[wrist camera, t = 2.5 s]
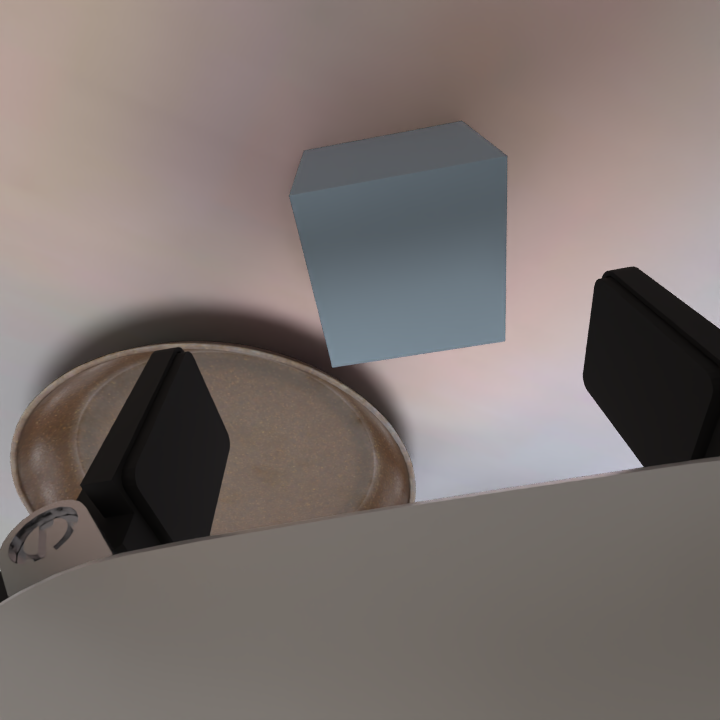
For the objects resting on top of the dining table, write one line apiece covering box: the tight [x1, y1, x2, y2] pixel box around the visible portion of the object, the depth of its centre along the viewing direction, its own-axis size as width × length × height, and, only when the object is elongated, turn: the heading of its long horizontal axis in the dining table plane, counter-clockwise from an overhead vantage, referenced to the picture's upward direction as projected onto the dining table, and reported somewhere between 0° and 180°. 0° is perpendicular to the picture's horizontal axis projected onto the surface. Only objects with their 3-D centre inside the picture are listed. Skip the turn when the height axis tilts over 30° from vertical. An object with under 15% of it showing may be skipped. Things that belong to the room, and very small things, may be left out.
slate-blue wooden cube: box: [289, 121, 507, 368], centre depth 17 cm, size 6×6×6 cm
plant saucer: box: [10, 341, 416, 536], centre depth 26 cm, size 21×21×3 cm
